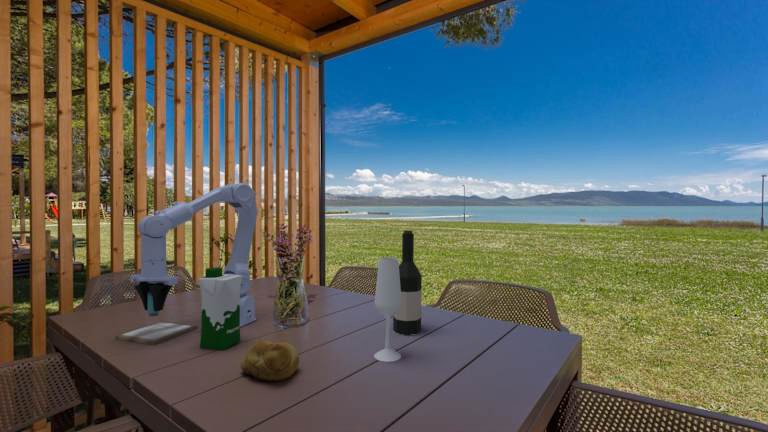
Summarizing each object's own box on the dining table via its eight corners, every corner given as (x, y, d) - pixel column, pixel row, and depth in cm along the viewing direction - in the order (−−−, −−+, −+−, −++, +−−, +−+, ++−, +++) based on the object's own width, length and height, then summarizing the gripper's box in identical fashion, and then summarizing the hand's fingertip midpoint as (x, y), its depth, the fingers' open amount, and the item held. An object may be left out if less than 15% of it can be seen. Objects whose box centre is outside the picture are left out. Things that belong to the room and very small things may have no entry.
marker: (162, 314, 98) (162, 290, 98) (153, 317, 95) (152, 292, 95) (154, 313, 99) (154, 289, 99) (144, 316, 96) (144, 292, 96)
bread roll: (230, 377, 76) (230, 340, 76) (262, 360, 85) (262, 326, 85) (279, 389, 71) (279, 349, 71) (307, 369, 80) (308, 334, 80)
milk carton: (216, 337, 100) (217, 265, 100) (245, 340, 98) (246, 267, 98) (194, 349, 91) (194, 270, 91) (225, 352, 90) (226, 272, 89)
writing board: (196, 328, 107) (196, 325, 107) (154, 344, 94) (154, 341, 94) (161, 323, 111) (161, 320, 111) (115, 338, 98) (115, 335, 98)
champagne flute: (405, 354, 89) (407, 258, 89) (392, 363, 84) (393, 261, 83) (382, 348, 93) (383, 256, 93) (368, 357, 87) (369, 259, 87)
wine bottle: (420, 327, 111) (422, 230, 111) (421, 336, 103) (422, 231, 102) (394, 325, 112) (395, 229, 112) (392, 334, 104) (393, 231, 103)
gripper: (119, 260, 95) (119, 311, 96) (161, 263, 91) (161, 316, 91) (143, 257, 102) (144, 304, 102) (184, 259, 98) (184, 309, 98)
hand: (153, 309), depth 97 cm, fingers closed on marker, 3 cm apart
